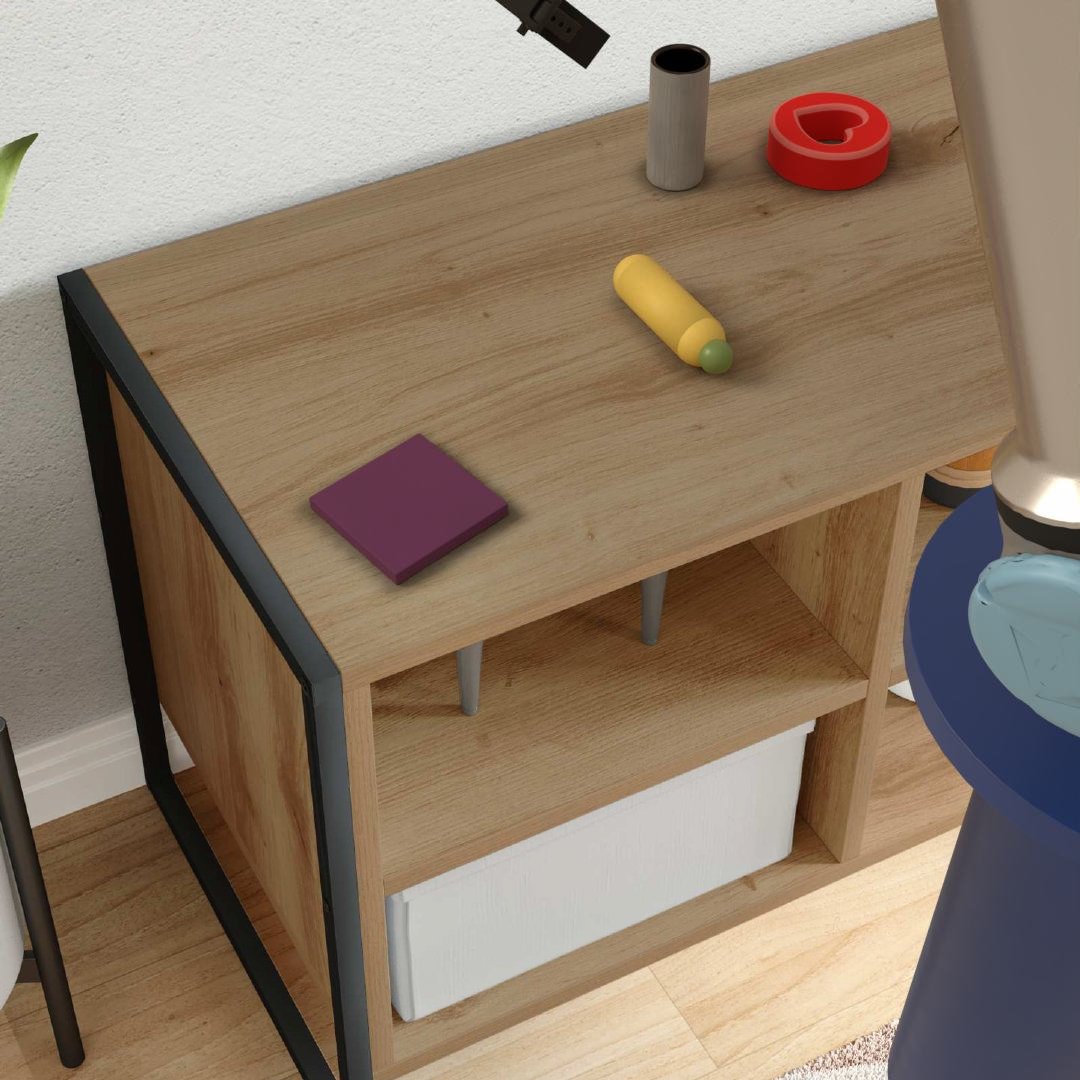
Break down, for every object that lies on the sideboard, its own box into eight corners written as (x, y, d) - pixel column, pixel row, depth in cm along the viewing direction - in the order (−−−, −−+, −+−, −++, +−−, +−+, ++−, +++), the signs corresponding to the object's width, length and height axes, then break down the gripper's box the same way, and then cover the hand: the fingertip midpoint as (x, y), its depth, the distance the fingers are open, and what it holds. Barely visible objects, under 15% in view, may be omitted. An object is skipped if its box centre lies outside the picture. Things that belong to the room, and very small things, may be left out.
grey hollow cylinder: (693, 196, 124) (701, 78, 116) (638, 185, 125) (642, 68, 117) (709, 165, 127) (718, 48, 119) (655, 155, 128) (660, 38, 120)
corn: (745, 377, 109) (749, 337, 106) (702, 395, 108) (705, 354, 105) (645, 278, 117) (646, 238, 114) (603, 294, 115) (604, 253, 113)
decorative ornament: (771, 119, 131) (775, 85, 129) (889, 129, 130) (894, 95, 127) (761, 184, 125) (764, 149, 122) (884, 195, 123) (890, 160, 121)
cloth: (508, 514, 100) (508, 503, 99) (396, 585, 96) (395, 574, 95) (420, 443, 105) (419, 432, 104) (310, 508, 101) (308, 497, 100)
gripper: (209, -183, 102) (431, -22, 118) (376, -24, 87) (604, 136, 103) (274, -287, 100) (491, -108, 116) (456, -142, 85) (677, 40, 101)
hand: (545, 7), depth 109 cm, fingers open, 13 cm apart
